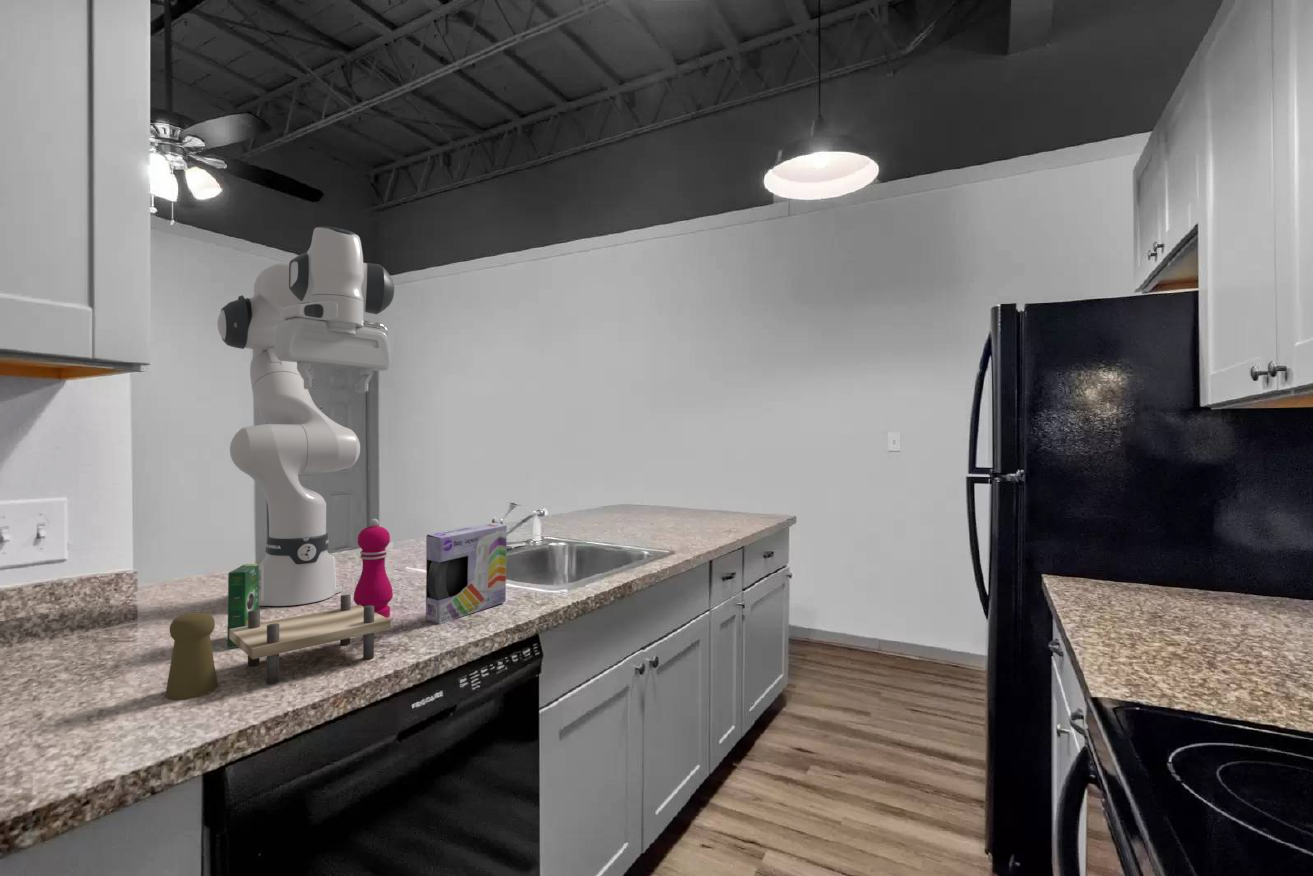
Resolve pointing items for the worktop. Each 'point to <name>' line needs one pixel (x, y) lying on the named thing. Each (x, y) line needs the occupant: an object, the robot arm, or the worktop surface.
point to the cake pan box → (465, 571)
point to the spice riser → (307, 633)
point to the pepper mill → (374, 570)
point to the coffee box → (242, 596)
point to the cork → (191, 657)
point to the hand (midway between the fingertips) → (336, 391)
